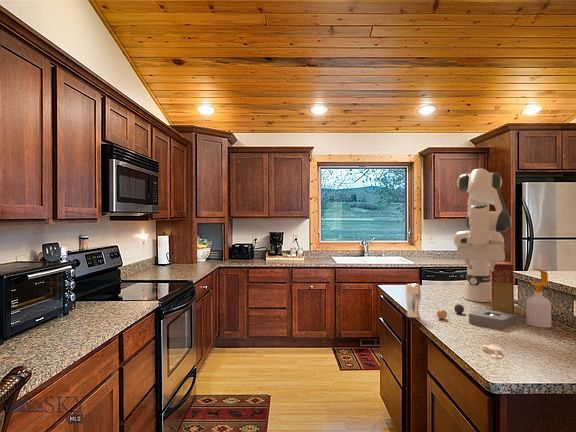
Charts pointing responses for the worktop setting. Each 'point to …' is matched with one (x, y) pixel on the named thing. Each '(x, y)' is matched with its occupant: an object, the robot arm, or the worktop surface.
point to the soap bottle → (539, 305)
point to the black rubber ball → (459, 308)
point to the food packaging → (502, 288)
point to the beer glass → (413, 300)
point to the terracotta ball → (441, 314)
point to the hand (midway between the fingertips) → (480, 270)
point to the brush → (493, 350)
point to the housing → (492, 319)
